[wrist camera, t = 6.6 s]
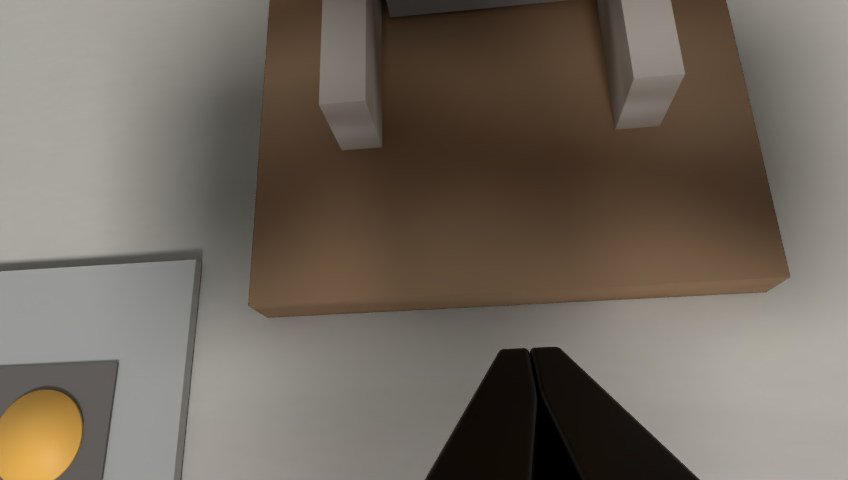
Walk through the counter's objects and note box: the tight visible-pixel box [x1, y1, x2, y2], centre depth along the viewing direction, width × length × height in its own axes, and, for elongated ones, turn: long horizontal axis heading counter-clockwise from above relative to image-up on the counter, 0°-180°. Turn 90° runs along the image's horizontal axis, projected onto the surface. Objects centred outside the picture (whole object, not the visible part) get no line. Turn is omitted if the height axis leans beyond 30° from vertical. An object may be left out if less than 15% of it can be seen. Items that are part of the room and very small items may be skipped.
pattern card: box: [0, 259, 202, 480], centre depth 17 cm, size 10×8×1 cm
